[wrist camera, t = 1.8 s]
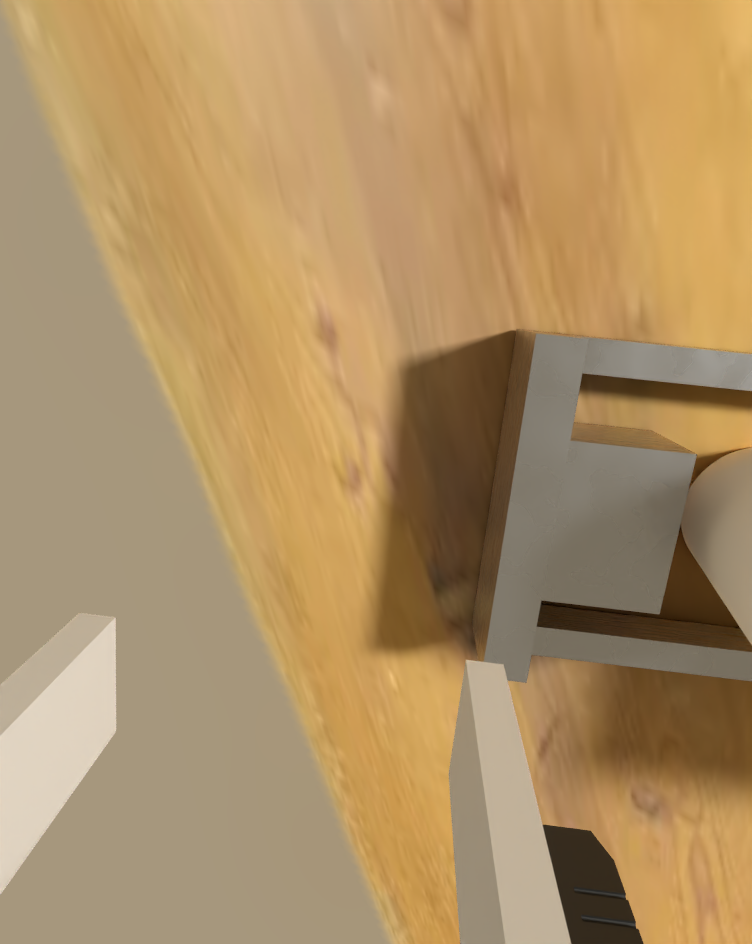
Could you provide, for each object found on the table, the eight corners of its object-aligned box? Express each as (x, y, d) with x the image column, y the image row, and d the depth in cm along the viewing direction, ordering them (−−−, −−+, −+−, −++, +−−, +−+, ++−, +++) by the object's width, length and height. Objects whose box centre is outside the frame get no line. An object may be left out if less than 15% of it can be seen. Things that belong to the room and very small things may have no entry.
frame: (516, 328, 29) (536, 333, 25) (889, 367, 29) (985, 379, 24) (472, 623, 33) (481, 677, 28) (800, 662, 33) (867, 724, 28)
